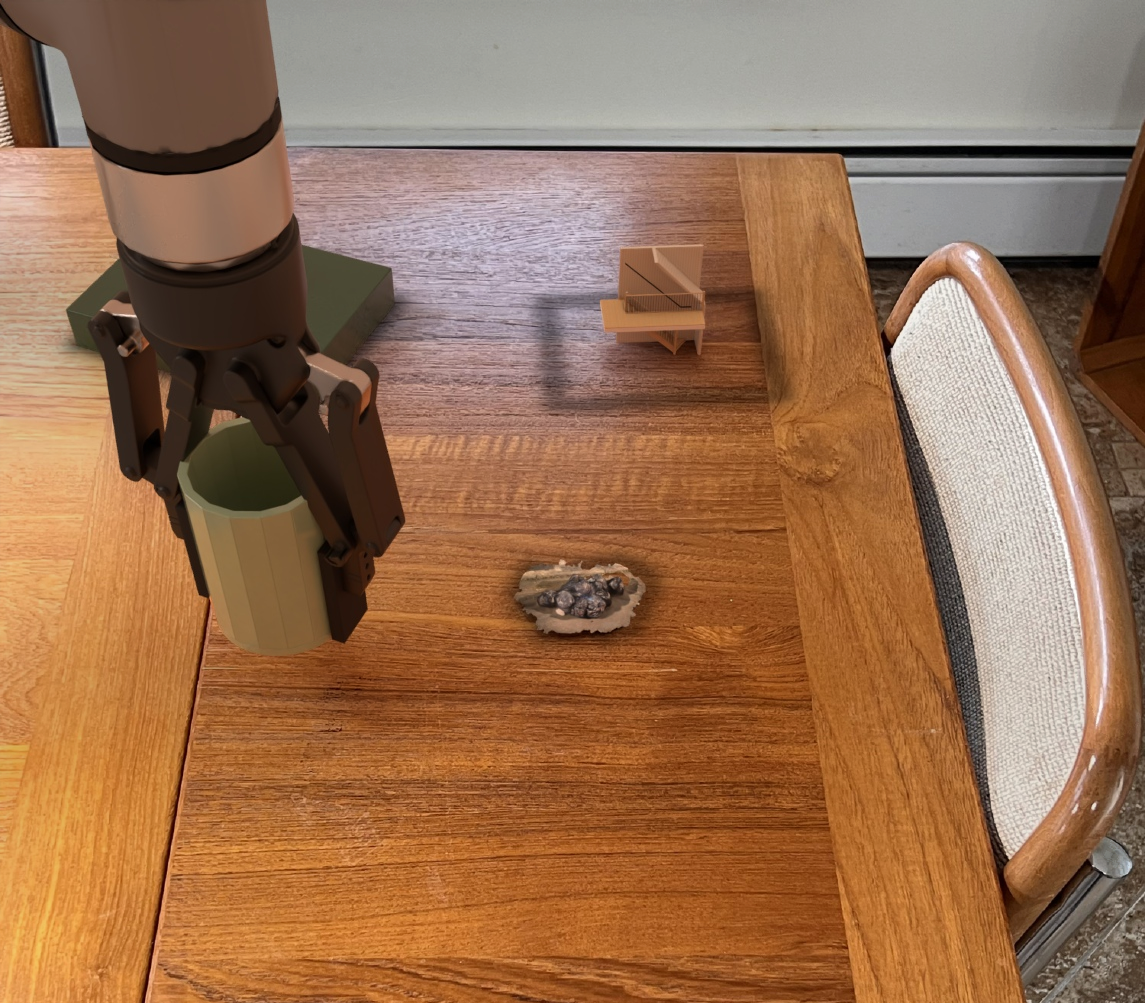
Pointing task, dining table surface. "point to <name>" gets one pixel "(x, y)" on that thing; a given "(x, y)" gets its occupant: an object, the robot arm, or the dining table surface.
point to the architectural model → (658, 296)
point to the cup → (255, 543)
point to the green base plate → (334, 308)
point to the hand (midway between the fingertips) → (283, 601)
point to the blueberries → (579, 597)
